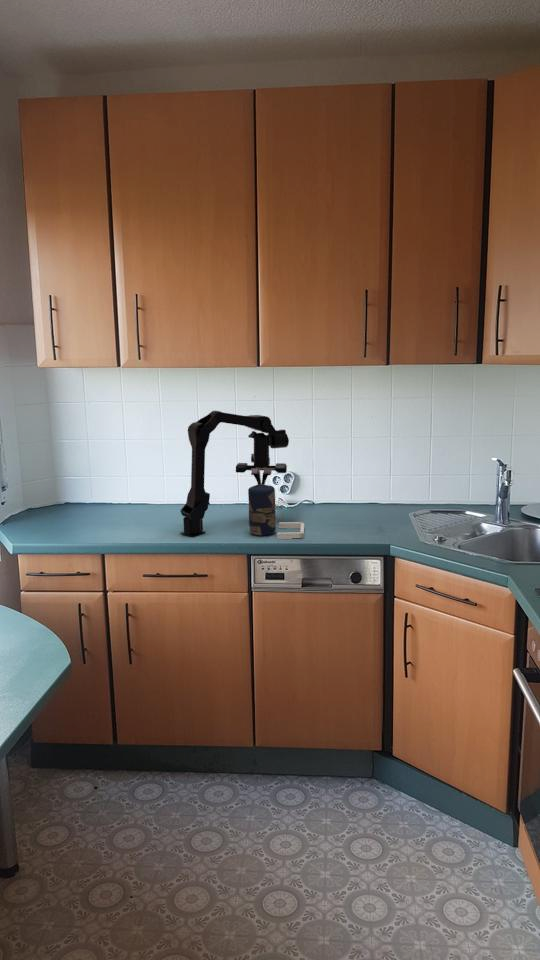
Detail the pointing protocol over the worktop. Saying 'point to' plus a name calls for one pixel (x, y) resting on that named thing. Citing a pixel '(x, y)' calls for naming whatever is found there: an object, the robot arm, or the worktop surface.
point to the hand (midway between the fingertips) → (261, 490)
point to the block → (291, 534)
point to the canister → (262, 509)
